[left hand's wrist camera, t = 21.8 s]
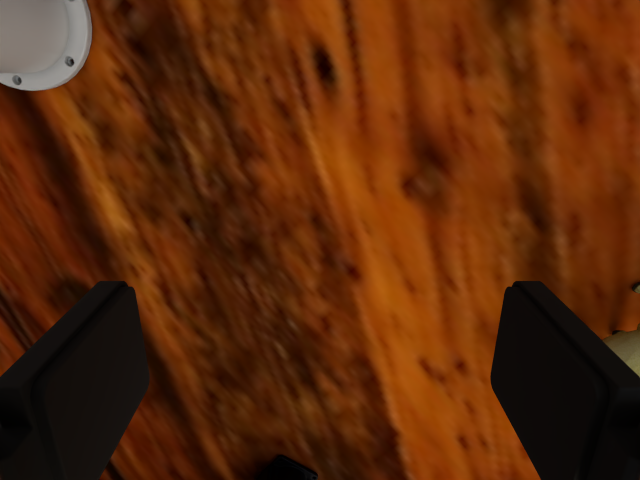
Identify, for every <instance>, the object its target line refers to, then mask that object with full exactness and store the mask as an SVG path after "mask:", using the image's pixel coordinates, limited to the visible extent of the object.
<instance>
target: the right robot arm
mask: <svg viewBox="0 0 640 480" xmlns="http://www.w3.org/2000/svg"><path fill="white" fill-rule="evenodd" d="M317 479H318V475H317V473H315V472H313V471H311V470H309V469H307V468H305V467H304V466H302V465H300V464H298V463H296V462H294V461H292V460H290V459H289V458H287V457H285V456H283V455H279V456H278V457H277V458H276V459H275V460H274V461H273V462H272V464H271V465H269V466H267V468H266V469H265V470H264V471H263V472H262V473H261V474H260V475H259V478H258V479H257V480H317Z"/></svg>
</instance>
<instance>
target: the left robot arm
mask: <svg viewBox="0 0 640 480" xmlns="http://www.w3.org/2000/svg"><path fill="white" fill-rule="evenodd" d="M91 41H92V23H91V16H90V11H89V8H88V5H87V1H86V0H0V83H3V84H5V85H7V86H10V87H13V88H17V89H21V90H32V91H36V90H47V89H51V88H55V87H58V86H60V85H62V84H64V83H66V82H68V81H69V80H70V79H72V78H73V77H74V76H75V75H76V74H77V73H78V72H79V70H80V69H81V68H82V66H83V65H84V63H85V61H86V59H87V56H88V54H89V50H90V46H91ZM72 59H73V60H74V64H73V63H72ZM21 80H22V81H21ZM148 385H149V370H148V364H147V358H146V352H145V346H144V340H143V335H142V329H141V323H140V317H139V311H138V305H137V300H136V294H135V290H134V288H133V287H128V285H127V283H126V282H125V281H100V282H98V283H97V284H96V285H95V286H94V287H93V288H92V289H91V290H90V291H89V292H88V293H87V294H86V295H85V296H84V297H83V298H81V299H80V300H79V301H78V302H77V303H76V304H75V305H74V306H73V307H72V308H71V309H70V310H69V311H68V312H67V313H66V314H65V315H64V316H63V317H62V318H61V319H60V320H59V321H58V322H57V323H56V324H55V325H54V326H52V327H51V328H50V329H49V330H48V331H47V332H46V333H45V334H44V335H43V336H42V337H41V338H40V339H39V340H38V341H37V342H36V343H35V344H34V345H33V346H32V347H31V348H30V349H29V350H28V351H27V352H26V353H25V354H23V355H22V356H21V357H20V358H19V359H18V360H17V361H16V362H15V363H14V364H13V365H12V366H11V367H10V368H9V369H8V370H7V371H6V372H5V373H4V374H3V375H2V376H1V377H0V480H99V478H100V476H101V475H102V473H103V471H104V469H105V467H106V465H107V463H108V462H109V460H110V458H111V456H112V454H113V452H114V450H115V449H116V447H117V445H118V443H119V441H120V439H121V437H122V436H123V434H124V432H125V430H126V428H127V426H128V424H129V423H130V421H131V419H132V417H133V415H134V413H135V411H136V409H137V408H138V406H139V404H140V402H141V400H142V398H143V396H144V395H145V393H146V391H147V389H148ZM491 385H492V389H493V391H494V393H495V395H496V396H497V398H498V400H499V402H500V404H501V406H502V408H503V409H504V411H505V413H506V415H507V417H508V419H509V421H510V423H511V424H512V426H513V428H514V430H515V432H516V434H517V436H518V437H519V439H520V441H521V443H522V445H523V447H524V449H525V450H526V452H527V454H528V456H529V458H530V460H531V462H532V463H533V465H534V467H535V469H536V471H537V473H538V475H539V476H540V478H541V480H640V377H639V376H638V375H637V374H636V373H635V372H634V371H633V370H632V369H631V368H630V367H629V366H628V365H627V364H626V363H625V362H624V361H623V360H622V359H621V358H620V357H619V356H618V355H617V354H615V353H614V352H613V351H612V350H611V349H610V348H609V347H608V346H607V345H606V344H605V343H604V342H603V341H602V340H601V339H600V338H599V337H598V336H597V335H596V334H595V333H594V332H593V331H592V330H591V329H590V328H589V327H588V326H586V325H585V324H584V323H583V322H582V321H581V320H580V319H579V318H578V317H577V316H576V315H575V314H574V313H573V312H572V311H571V310H570V309H569V308H568V307H567V306H566V305H565V304H564V303H563V302H562V301H561V300H560V299H559V298H557V297H556V296H555V295H554V294H553V293H552V292H551V291H550V290H549V289H548V288H547V287H546V286H545V285H544V284H543V283H542V282H540V281H515V282H514V283H513V285H512V287H507V288H506V290H505V294H504V300H503V305H502V311H501V317H500V323H499V329H498V335H497V340H496V346H495V352H494V358H493V364H492V370H491Z"/></svg>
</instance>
